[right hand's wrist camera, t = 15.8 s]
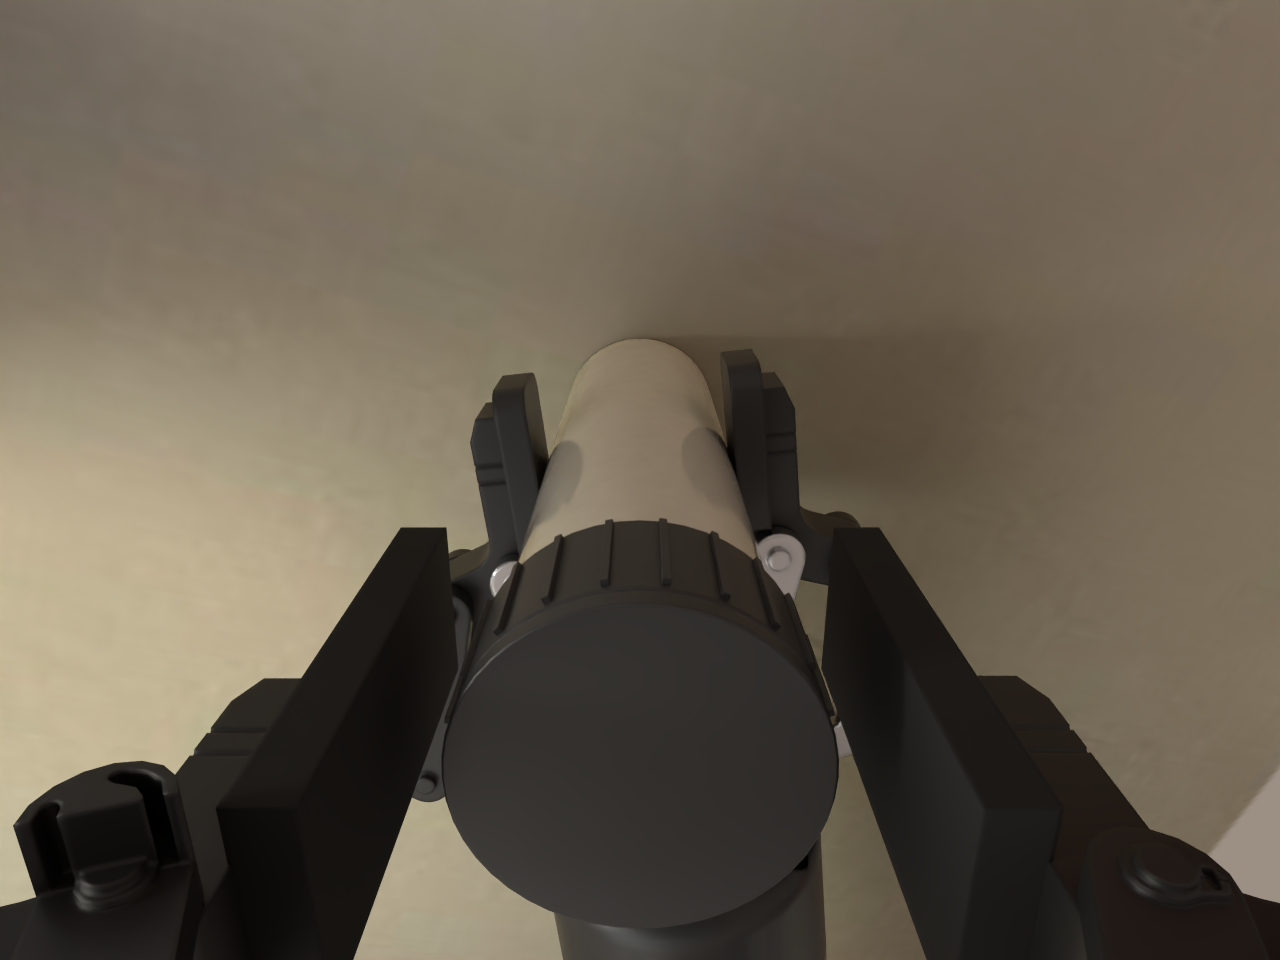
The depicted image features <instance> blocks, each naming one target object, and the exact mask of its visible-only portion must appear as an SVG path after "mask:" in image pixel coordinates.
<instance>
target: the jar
mask: <svg viewBox="0 0 1280 960" xmlns="http://www.w3.org/2000/svg"><path fill="white" fill-rule="evenodd" d="M659 518H664V519H667V522H668V523H673V524H679V525H684V526H688V527H691V528H694V529H697V530H701V531H704V532H707V533H709V534H710V533H711V531H714V532H716V533H718V534H719V538H720V539H722V540H725V541H727V542H728V543H730V544H731V545H733V546H735V547H736V548H738V549H740V550H741V551H743V552H744V553H746V554H747V555H748V556H749V557H751V558H752V559H754V558H755V557H758V558H759V559H760V560H761V561H762V558H761V555H760V552H759V549H758V545H757V542H756V539H755V536H754V533H753V529H752V526H751V523H750V520H749V516H748V513H747V510H746V507H745V504H744V500H743V497H742V494H741V491H740V487H739V484H738V481H737V478H736V475H735V471H734V468H733V465H732V462H731V459H730V455H729V452H728V449H727V446H726V442H725V439H724V436H723V433H722V430H721V426H720V423H719V420H718V417H717V414H716V410H715V407H714V404H713V401H712V397H711V394H710V391H709V388H708V385H707V383H706V380H705V378H704V376H703V374H702V372H701V371H700V370H699V368H698V367H697V365H696V364H695V363H694V362H693V361H692V360H691V359H690V358H689V357H688V356H687V355H685V354H684V353H683V352H681V351H680V350H678V349H677V348H675V347H673V346H671V345H668V344H666V343H663V342H660V341H657V340H650V339H629V340H624V341H620V342H616V343H614V344H611V345H609V346H607V347H605V348H603V349H601V350H600V351H598V352H597V353H596V354H594V355H593V356H592V357H591V358H590V359H589V360H588V361H587V362H586V363H585V364H584V365H583V367H582V368H581V369H580V371H579V372H578V374H577V376H576V377H575V380H574V382H573V384H572V387H571V390H570V394H569V397H568V400H567V403H566V407H565V410H564V413H563V416H562V419H561V423H560V426H559V429H558V432H557V436H556V439H555V442H554V445H553V449H552V452H551V455H550V458H549V461H548V465H547V468H546V471H545V474H544V478H543V481H542V484H541V487H540V491H539V494H538V497H537V500H536V503H535V507H534V510H533V513H532V516H531V520H530V523H529V526H528V529H527V533H526V536H525V539H524V542H523V546H522V549H521V552H520V555H519V558H518V562H520V563H521V564H522V563H524V562H525V561H526V560H527V559H528V558H530V557H531V556H532V555H533V554H534V553H536V552H537V551H539V550H541V549H542V548H544V547H545V546H547V545H549V544H550V543H552V542H554V537H555V536H557V535H559V534H562V536H563V537H564V536H567V535H569V534H571V533H573V532H576V531H580V530H583V529H586V528H589V527H592V526H596V525H601V524H605V520H609V519H613V522H618V521H634V520H645V521H659ZM762 564H763V561H762ZM763 567H764V565H763ZM764 570H765V568H764Z"/></svg>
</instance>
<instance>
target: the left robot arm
mask: <svg viewBox="0 0 1280 960" xmlns="http://www.w3.org/2000/svg"><path fill="white" fill-rule="evenodd" d="M720 360H721V375H722V387H723V400H724V412H725V425H726V437H727V449H728V452H729V455H730V459H731V462H732V465H733V468H734V471H735V475H736V478H737V481H738V484H739V487H740V491H741V494H742V497H743V500H744V504H745V507H746V510H747V513H748V516H749V520H750V523H751V526H752V529H753V533H754V536H755V539H756V542H757V545H758V549H759V552H760V555H761V558H762V561H763V565H764V568H765V571H766V572H767V573H768V574H769V575H770V576H771V577H772V578H773V580H774V581H775V582H776V583H777V585H778V586H779V588H780V589H781V591H782V592H783V593H784V595H785V594H787V593H790V595H791V596H792V598H793V601H794V599H795V596H796V592H797V589H798V585H799V582H800V579H801V580H805V581H810V582H814V583H819V584H823V585H828V586H829V575H830V564H831V552H832V541H833V529H834V528H861V527H860V525H859V523H858V522H857V520H856V519H855V518H854V517H853V516H852V515H850V514H848V513H845V512H839V511H836V512H831V513H828V514H826V515H824V514H820V513H816V512H812V511H808V510H806V509H804V508H802V507H801V506H800V505H799V485H798V465H797V452H796V449H797V445H796V425H795V408H794V406H793V404H792V402H791V400H790V398H789V396H788V394H787V392H786V390H785V387H784V386H783V384H782V383H781V381H780V380H779V378H778V377H777V375H776V374H775V372H768V373H761V368H760V364H759V361H758V359H757V358H756V356H755V354H754V353H753V351H752V349H745V350H736V351H727V352H721V354H720ZM470 444H471V449H472V454H473V460H474V465H475V467H476V475H477V480H478V483H479V491H480V496H481V501H482V506H483V511H484V517H485V522H486V527H487V532H488V537H489V542H487V543H486V544H484V545H482V546H480V547H478V548H476V549H474V550H467V549H459V550H455V551H453V552H451V553H449V564H450V576H451V587H452V598H453V610H454V621H455V633H456V644H457V656H458V667H459V668H458V671H457V674H456V677H455V679H454V682H453V685H452V688H451V690H450V693H449V696H448V699H447V701H446V704H445V707H444V710H443V713H442V715H441V718H440V721H439V724H438V726H437V729H436V732H435V735H434V737H433V740H432V743H431V746H430V749H429V751H428V754H427V757H426V760H425V762H424V765H423V768H422V771H421V773H420V776H419V779H418V782H417V785H416V787H415V790H414V793H413V796H412V797H413V798H414V799H417V800H419V801H423V802H434V801H438V800H440V799H442V798H443V797H445V793H444V787H443V782H442V764H441V756H442V749H443V741H444V735H445V732H446V729H447V725H448V724H447V723H444V719H445V715H446V712H447V709H448V706H449V704H450V701H451V698H452V695H453V692H454V689H455V687H456V684H457V681H458V678H459V674H460V671H461V668H462V665H463V663H464V660H465V657H466V654H467V651H468V648H469V646H470V643H471V640H472V637H473V634H474V632H475V629H476V626H477V623H478V620H479V618H480V615H481V612H482V609H483V606H484V604H485V602H486V600H487V599H490V600H493V598H494V597H495V595H496V594H497V592H498V591H499V589H500V588H501V586H502V585H503V583H504V582H505V581H506V580H507V579H508V578H509V576H510V574H511V571H512V568H513V565H514V564H515V563H517V562H518V558H519V555H520V552H521V549H522V546H523V542H524V539H525V536H526V533H527V529H528V526H529V523H530V520H531V516H532V513H533V510H534V507H535V503H536V500H537V497H538V494H539V491H540V487H541V484H542V481H543V478H544V474H545V471H546V468H547V465H548V461H549V456H548V450H547V444H546V438H545V431H544V425H543V419H542V413H541V406H540V400H539V394H538V388H537V382H536V378H535V375H534V373H533V372H532V373H523V374H514V375H505V376H502V378H501V379H500V381H499V382H498V384H497V385H496V387H495V388H494V390H493V395H492V402H490V403H486V404H485V405H484V407H483V408H482V410H481V412H480V413H479V415H478V416H477V418H476V419H475V423H474V427H473V432H472V437H471V442H470ZM832 705H833V708H834V712H835V716H831V717H830V718H831V721H832V724H833V728H834V731H835V734H836V740H837V747H838V754H839V758H841V757H844V756H847V755H850V754H852V751H851V749H850V746H849V743H848V740H847V738H846V735H845V732H844V729H843V726H842V724H841V721H840V718H839V715H838V713H837V710H836V707H835V704H834V702H832ZM554 915H555V920H556V925H557V930H558V935H559V940H560V946H561V950H562V955H563V960H827V957H826V937H825V917H824V896H823V876H822V855H821V834H820V835H819V837H818V839H817V840H816V842H815V843H814V845H813V846H812V848H811V849H810V850H809V852H808V853H807V855H806V856H805V857H804V858H803V859H802V860H801V861H800V863H799V864H798V865H797V866H796V867H795V868H794V869H793V870H792V871H791V872H790V873H789V874H788V875H787V876H785V877H784V878H783V879H782V880H781V881H779V882H778V883H777V884H776V885H775V886H773V887H772V888H770V889H769V890H767V891H766V892H764V893H763V894H761V895H760V896H758V897H757V898H755V899H753V900H751V901H749V902H747V903H745V904H743V905H741V906H739V907H737V908H735V909H733V910H731V911H728V912H725V913H723V914H720V915H717V916H715V917H712V918H708V919H704V920H701V921H697V922H693V923H689V924H683V925H676V926H670V927H661V928H641V929H640V928H619V927H611V926H604V925H597V924H591V923H587V922H583V921H579V920H576V919H572V918H568V917H566V916H563V915H560V914H557V913H555V912H554Z"/></svg>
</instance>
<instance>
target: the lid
mask: <svg viewBox="0 0 1280 960" xmlns="http://www.w3.org/2000/svg"><path fill="white" fill-rule="evenodd" d="M831 716H835V712H834V708H833V705H832V703H831V700H830V697H829V694H828V691H827V689H826V686H825V683H824V680H823V677H822V675H821V672H820V669H819V666H818V663H817V661H816V658H815V655H814V652H813V650H812V647H811V644H810V641H809V638H808V636H807V634H806V635H805V632H804V629H803V626H802V623H801V621H800V618H799V615H798V612H797V609H796V606H795V604H794V601H793V598H792V596H791V595H790V593H787V594H785V595H784V593H783V592H782V591H781V589H780V588H779V586H778V585H777V583H776V582H775V581H774V580H773V578H772V577H771V576H770V575H769V574H768V573H767V572H766V571H765V570H764V567H763V564H762V561H761V560H760V559H759V558H758V557H755V558H754V559H752V558H751V557H749V556H748V555H747V554H746V553H744V552H743V551H741V550H740V549H738V548H736V547H735V546H733V545H731V544H730V543H728V542H727V541H725V540H722V539H720V538H719V534H718V533H716V532H714V531H711V533H710V534H709V533H707V532H704V531H701V530H697V529H694V528H691V527H688V526H684V525H679V524H673V523H668V522H667V519H664V518H659V521H645V520H634V521H618V522H613V519H609V520H605V524H601V525H596V526H592V527H589V528H586V529H583V530H580V531H576V532H573V533H571V534H569V535H567V536H564V537H563V536H562V534H559V535H557V536H555V537H554V542H552V543H550V544H549V545H547V546H545V547H544V548H542V549H541V550H539V551H537V552H536V553H534V554H533V555H532V556H531V557H530V558H528V559H527V560H526V561H525V562H524V563H522V564H521V563H520V562H517V563H515V564H514V565H513V568H512V571H511V574H510V576H509V578H508V579H507V580H506V581H505V582H504V583H503V585H502V586H501V588H500V589H499V591H498V592H497V594H496V595H495V597H494V598H493V600H490V599H487V600H486V602H485V604H484V606H483V609H482V612H481V615H480V618H479V620H478V623H477V626H476V629H475V632H474V634H473V637H472V640H471V643H470V646H469V648H468V651H467V654H466V657H465V660H464V663H463V665H462V668H461V671H460V674H459V678H458V681H457V684H456V687H455V689H454V692H453V695H452V698H451V701H450V704H449V706H448V709H447V712H446V715H445V719H444V723H447V724H448V725H447V729H446V732H445V735H444V741H443V749H442V756H441V764H442V782H443V787H444V793H445V798H446V802H447V805H448V808H449V810H450V813H451V816H452V819H453V822H454V823H455V825H456V827H457V829H458V831H459V833H460V835H461V837H462V839H463V840H464V842H465V843H466V845H467V846H468V847H469V849H470V850H471V851H472V853H473V854H474V856H475V857H476V858H477V859H478V860H479V861H480V862H481V863H482V864H483V866H484V867H485V868H486V869H487V870H488V871H489V872H490V873H491V874H492V875H494V876H495V877H496V878H497V879H498V880H500V881H501V882H502V883H503V884H504V885H506V886H507V887H508V888H510V889H511V890H513V891H514V892H516V893H517V894H519V895H521V896H522V897H524V898H525V899H527V900H529V901H531V902H533V903H535V904H537V905H539V906H541V907H543V908H545V909H547V910H549V911H552V912H555V913H557V914H560V915H563V916H566V917H568V918H572V919H576V920H579V921H583V922H587V923H591V924H597V925H604V926H611V927H619V928H640V929H641V928H661V927H670V926H676V925H683V924H689V923H693V922H697V921H701V920H704V919H708V918H712V917H715V916H717V915H720V914H723V913H725V912H728V911H731V910H733V909H735V908H737V907H739V906H741V905H743V904H745V903H747V902H749V901H751V900H753V899H755V898H757V897H758V896H760V895H761V894H763V893H764V892H766V891H767V890H769V889H770V888H772V887H773V886H775V885H776V884H777V883H778V882H779V881H781V880H782V879H783V878H784V877H785V876H787V875H788V874H789V873H790V872H791V871H792V870H793V869H794V868H795V867H796V866H797V865H798V864H799V863H800V861H801V860H802V859H803V858H804V857H805V856H806V855H807V853H808V852H809V850H810V849H811V848H812V846H813V845H814V843H815V842H816V840H817V839H818V837H819V835H820V833H821V831H822V830H823V828H824V826H825V824H826V822H827V820H828V817H829V814H830V811H831V808H832V805H833V802H834V799H835V794H836V789H837V783H838V777H839V754H838V747H837V740H836V734H835V731H834V728H833V724H832V721H831V718H830V717H831Z"/></svg>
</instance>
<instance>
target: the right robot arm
mask: <svg viewBox="0 0 1280 960" xmlns="http://www.w3.org/2000/svg"><path fill="white" fill-rule="evenodd" d="M458 668H459V667H458V656H457V644H456V633H455V621H454V610H453V598H452V587H451V576H450V564H449V553H448V541H447V530H446V528H400V530H399V531H398V533H397V534H396V536H395V537H394V539H393V540H392V542H391V543H390V545H389V546H388V548H387V549H386V551H385V552H384V554H383V555H382V557H381V558H380V560H379V561H378V563H377V565H376V566H375V568H374V569H373V571H372V572H371V574H370V575H369V577H368V578H367V580H366V581H365V583H364V584H363V586H362V587H361V589H360V590H359V592H358V593H357V595H356V596H355V598H354V599H353V601H352V602H351V604H350V605H349V607H348V608H347V610H346V611H345V613H344V614H343V616H342V617H341V619H340V620H339V622H338V624H337V625H336V627H335V628H334V630H333V631H332V633H331V634H330V636H329V637H328V639H327V640H326V642H325V643H324V645H323V646H322V648H321V649H320V651H319V652H318V654H317V655H316V657H315V658H314V660H313V661H312V663H311V664H310V666H309V667H308V669H307V670H306V672H305V673H304V675H303V676H302V678H264V679H263V680H261V681H260V682H258V683H257V684H255V685H254V686H253V687H251V688H250V689H248V690H247V691H245V692H244V693H242V694H241V695H240V696H238V697H237V698H235V699H234V700H232V701H231V702H230V704H229V705H228V706H227V708H226V709H225V710H224V712H223V713H222V714H221V715H220V717H219V718H218V719H217V721H216V722H215V723H214V725H213V726H212V727H211V733H207V734H206V735H205V736H204V738H203V739H202V740H201V742H200V743H199V744H198V746H197V747H196V748H195V750H194V755H193V756H189V757H188V759H187V760H186V761H185V763H184V764H183V765H182V767H181V768H180V769H179V770H178V772H177V773H176V774H175V775H174V774H173V773H172V772H171V771H170V770H169V769H167V768H166V767H165V766H164V765H159V764H155V763H150V762H145V761H135V762H123V763H113V764H110V765H106V766H103V767H99V768H96V769H92V770H89V771H85V772H83V773H80V774H78V775H76V776H74V777H72V778H70V779H68V780H66V781H64V782H62V783H60V784H58V785H56V786H54V787H52V788H51V789H50V790H48V791H47V792H46V793H44V794H43V795H42V796H40V797H39V798H38V799H36V800H35V801H34V802H32V803H31V804H30V805H29V806H28V807H27V808H26V809H25V811H24V812H23V813H22V815H21V816H20V817H19V819H18V820H17V821H16V823H15V824H14V825H13V827H14V830H15V833H16V836H17V839H18V842H19V845H20V848H21V851H22V854H23V858H24V861H25V864H26V867H27V870H28V873H29V876H30V879H31V882H32V885H33V888H34V891H35V894H36V897H35V898H32V899H29V900H26V901H22V902H19V903H15V904H10V905H6V906H2V907H0V960H353V959H354V956H355V953H356V951H357V948H358V945H359V942H360V940H361V937H362V934H363V931H364V928H365V926H366V923H367V920H368V917H369V915H370V912H371V909H372V906H373V904H374V901H375V898H376V895H377V892H378V890H379V887H380V884H381V881H382V879H383V876H384V873H385V870H386V868H387V865H388V862H389V859H390V857H391V854H392V851H393V848H394V845H395V843H396V840H397V837H398V834H399V832H400V829H401V826H402V823H403V821H404V818H405V815H406V812H407V809H408V807H409V804H410V801H411V798H412V796H413V793H414V790H415V787H416V785H417V782H418V779H419V776H420V773H421V771H422V768H423V765H424V762H425V760H426V757H427V754H428V751H429V749H430V746H431V743H432V740H433V737H434V735H435V732H436V729H437V726H438V724H439V721H440V718H441V715H442V713H443V710H444V707H445V704H446V701H447V699H448V696H449V693H450V690H451V688H452V685H453V682H454V679H455V677H456V674H457V671H458ZM821 668H822V671H823V674H824V677H825V679H826V682H827V685H828V688H829V690H830V693H831V696H832V699H833V702H834V704H835V707H836V710H837V713H838V715H839V718H840V721H841V724H842V726H843V729H844V732H845V735H846V738H847V740H848V743H849V746H850V749H851V751H852V754H853V757H854V760H855V762H856V765H857V768H858V771H859V773H860V776H861V779H862V782H863V785H864V787H865V790H866V793H867V796H868V798H869V801H870V804H871V807H872V809H873V812H874V815H875V818H876V821H877V823H878V826H879V829H880V832H881V834H882V837H883V840H884V843H885V845H886V848H887V851H888V854H889V857H890V859H891V862H892V865H893V868H894V870H895V873H896V876H897V879H898V881H899V884H900V887H901V890H902V893H903V895H904V898H905V901H906V904H907V906H908V909H909V912H910V915H911V917H912V920H913V923H914V926H915V929H916V931H917V934H918V937H919V940H920V942H921V945H922V948H923V951H924V953H925V956H926V959H927V960H1280V903H1277V902H1272V901H1268V900H1264V899H1260V898H1257V897H1253V896H1250V895H1247V894H1244V893H1242V892H1241V890H1240V889H1239V887H1238V886H1237V884H1236V883H1235V881H1234V880H1233V878H1232V877H1231V875H1230V874H1229V873H1228V872H1227V871H1226V870H1225V869H1223V868H1222V867H1221V866H1220V865H1219V864H1217V863H1216V862H1215V861H1214V860H1213V859H1212V858H1210V857H1209V856H1208V855H1207V854H1205V853H1204V852H1202V851H1200V850H1198V849H1196V848H1195V847H1193V846H1191V845H1189V844H1187V843H1185V842H1184V841H1182V840H1180V839H1178V838H1175V837H1172V836H1169V835H1166V834H1163V833H1160V832H1157V831H1153V830H1150V829H1149V828H1148V827H1147V825H1146V824H1145V823H1144V821H1143V820H1142V819H1141V817H1140V816H1139V815H1138V814H1137V812H1136V811H1135V810H1134V808H1133V807H1132V806H1131V804H1130V803H1129V802H1128V800H1127V799H1126V798H1125V797H1124V795H1123V794H1122V793H1121V791H1120V790H1119V789H1118V787H1117V786H1116V785H1115V784H1114V782H1113V781H1112V780H1111V778H1110V777H1109V776H1108V774H1107V773H1106V772H1105V771H1104V769H1103V768H1102V767H1101V765H1100V764H1099V763H1098V761H1097V760H1096V759H1095V758H1094V756H1093V755H1092V754H1091V753H1087V750H1086V746H1085V745H1084V743H1083V742H1082V741H1081V739H1080V738H1079V737H1078V735H1077V734H1076V733H1075V732H1074V730H1070V728H1069V726H1070V725H1069V724H1068V722H1067V721H1066V720H1065V718H1064V717H1063V716H1062V715H1061V713H1060V712H1059V711H1058V709H1057V708H1056V707H1055V705H1054V704H1053V703H1052V702H1051V700H1050V699H1049V698H1048V697H1046V696H1045V695H1043V694H1042V693H1040V692H1039V691H1038V690H1036V689H1035V688H1033V687H1032V686H1030V685H1029V684H1027V683H1026V682H1025V681H1023V680H1022V679H1020V678H1019V677H1017V676H977V675H976V673H975V672H974V670H973V669H972V667H971V666H970V664H969V663H968V661H967V660H966V658H965V657H964V655H963V654H962V652H961V651H960V649H959V648H958V646H957V645H956V643H955V642H954V640H953V639H952V637H951V636H950V634H949V633H948V631H947V630H946V628H945V627H944V625H943V624H942V622H941V621H940V619H939V617H938V616H937V614H936V613H935V611H934V610H933V608H932V607H931V605H930V604H929V602H928V601H927V599H926V598H925V596H924V595H923V593H922V592H921V590H920V589H919V587H918V586H917V584H916V583H915V581H914V580H913V578H912V577H911V575H910V574H909V572H908V571H907V569H906V568H905V566H904V565H903V563H902V562H901V560H900V558H899V557H898V555H897V554H896V552H895V551H894V549H893V548H892V546H891V545H890V543H889V542H888V540H887V539H886V537H885V536H884V534H883V533H882V531H881V530H880V528H834V529H833V541H832V552H831V564H830V575H829V587H828V598H827V610H826V621H825V633H824V644H823V656H822V667H821Z"/></svg>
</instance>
